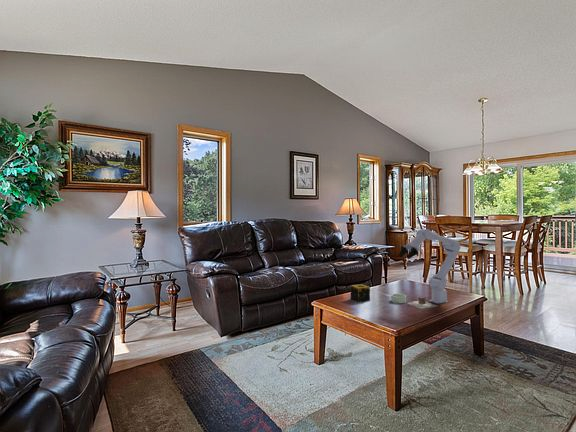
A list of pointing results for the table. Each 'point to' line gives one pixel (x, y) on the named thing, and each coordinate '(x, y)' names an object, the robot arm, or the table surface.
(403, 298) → the bowl
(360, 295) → the candle
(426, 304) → the lid
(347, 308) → the table surface
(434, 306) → the mat
